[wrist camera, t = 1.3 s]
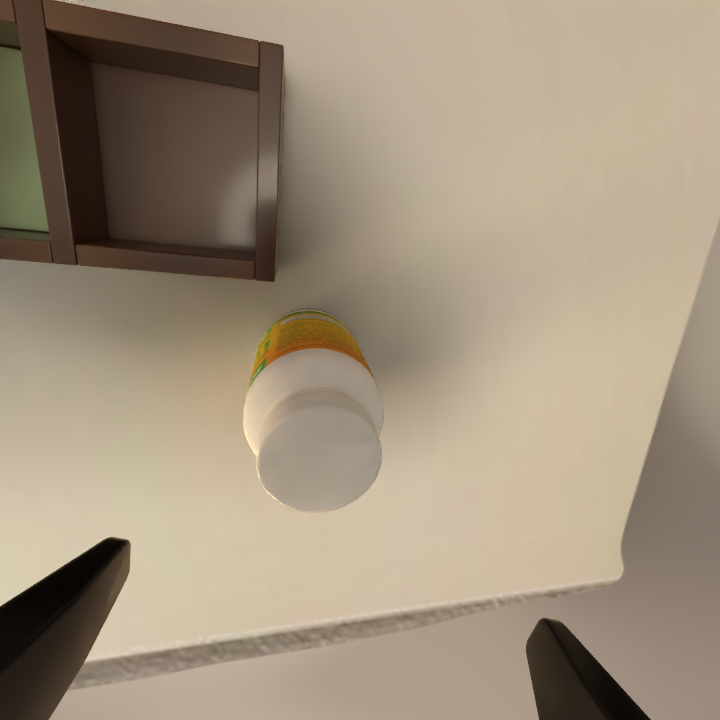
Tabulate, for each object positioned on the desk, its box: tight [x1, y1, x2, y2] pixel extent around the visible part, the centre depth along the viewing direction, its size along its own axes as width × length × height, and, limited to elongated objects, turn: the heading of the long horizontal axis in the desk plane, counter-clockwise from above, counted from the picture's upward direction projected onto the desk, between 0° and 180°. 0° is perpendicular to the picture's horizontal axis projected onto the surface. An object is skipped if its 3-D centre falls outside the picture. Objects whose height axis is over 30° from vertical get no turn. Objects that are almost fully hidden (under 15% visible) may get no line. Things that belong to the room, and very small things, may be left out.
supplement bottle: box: [243, 310, 384, 512], centre depth 17 cm, size 5×5×10 cm
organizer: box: [0, 0, 285, 282], centre depth 15 cm, size 15×8×4 cm, turn 83°
